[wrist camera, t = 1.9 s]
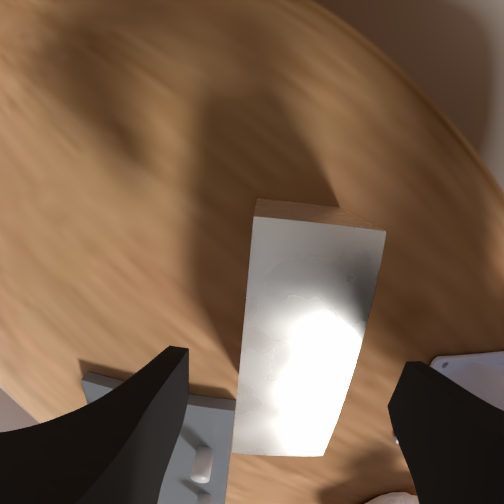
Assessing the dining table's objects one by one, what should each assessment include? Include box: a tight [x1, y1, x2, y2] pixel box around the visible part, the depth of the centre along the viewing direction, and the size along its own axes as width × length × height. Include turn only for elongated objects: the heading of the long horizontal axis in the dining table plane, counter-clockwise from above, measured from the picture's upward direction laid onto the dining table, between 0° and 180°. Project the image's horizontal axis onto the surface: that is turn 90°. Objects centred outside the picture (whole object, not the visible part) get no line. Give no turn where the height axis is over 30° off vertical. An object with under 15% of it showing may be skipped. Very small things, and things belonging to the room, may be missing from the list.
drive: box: [232, 198, 386, 456], centre depth 13 cm, size 4×10×6 cm, turn 175°
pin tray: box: [82, 372, 236, 504], centre depth 18 cm, size 10×16×4 cm, turn 174°
